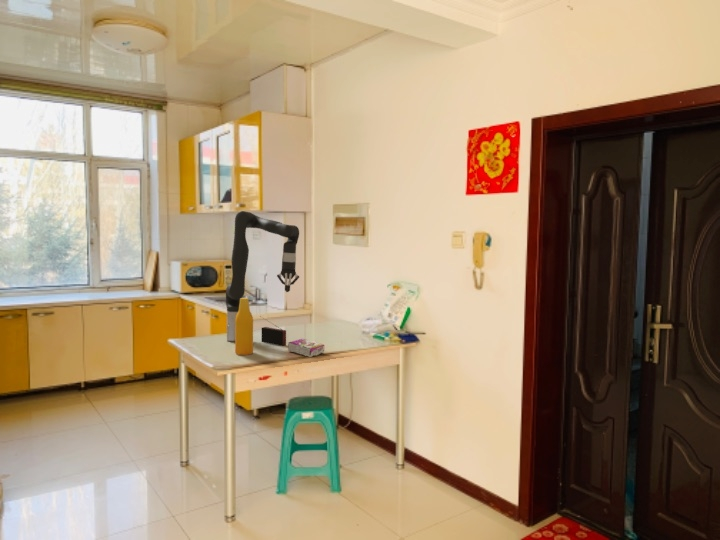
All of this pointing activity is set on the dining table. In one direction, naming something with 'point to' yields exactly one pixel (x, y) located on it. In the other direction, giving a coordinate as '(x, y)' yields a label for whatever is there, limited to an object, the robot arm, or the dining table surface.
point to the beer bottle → (244, 329)
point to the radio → (274, 335)
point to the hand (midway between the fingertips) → (287, 291)
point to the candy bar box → (306, 347)
